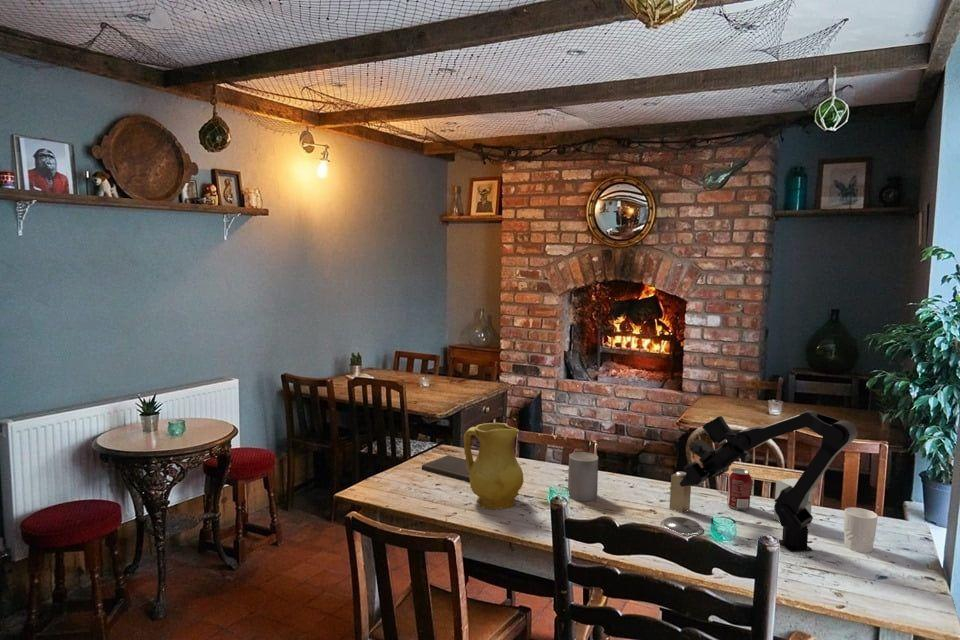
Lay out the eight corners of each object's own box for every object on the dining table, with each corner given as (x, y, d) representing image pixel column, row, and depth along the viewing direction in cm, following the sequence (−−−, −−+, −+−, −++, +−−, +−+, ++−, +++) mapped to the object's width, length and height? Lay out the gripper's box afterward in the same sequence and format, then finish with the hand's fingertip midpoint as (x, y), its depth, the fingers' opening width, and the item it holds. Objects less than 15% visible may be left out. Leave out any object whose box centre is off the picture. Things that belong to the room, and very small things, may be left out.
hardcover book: (448, 460, 248) (448, 455, 247) (497, 473, 234) (497, 467, 234) (421, 470, 235) (421, 464, 234) (471, 484, 221) (471, 478, 221)
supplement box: (790, 528, 189) (793, 487, 188) (772, 518, 196) (775, 478, 195) (810, 526, 191) (813, 485, 190) (792, 516, 198) (795, 477, 197)
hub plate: (710, 535, 182) (710, 531, 182) (671, 536, 181) (671, 532, 181) (691, 518, 194) (691, 515, 194) (653, 520, 193) (654, 516, 192)
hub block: (689, 509, 202) (691, 473, 201) (682, 513, 199) (684, 476, 198) (676, 505, 205) (678, 469, 204) (669, 508, 202) (671, 472, 201)
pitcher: (493, 515, 192) (494, 433, 191) (456, 500, 206) (457, 423, 205) (534, 505, 202) (535, 426, 202) (495, 491, 217) (497, 418, 216)
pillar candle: (574, 489, 218) (575, 446, 216) (601, 494, 213) (602, 451, 211) (562, 498, 209) (564, 453, 208) (590, 504, 204) (592, 458, 203)
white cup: (844, 539, 182) (847, 505, 182) (876, 547, 177) (879, 512, 177) (839, 547, 176) (842, 513, 175) (872, 556, 171) (875, 520, 171)
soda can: (751, 512, 201) (753, 475, 200) (728, 510, 202) (731, 473, 201) (746, 504, 208) (749, 468, 207) (725, 502, 209) (727, 466, 208)
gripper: (722, 428, 200) (687, 454, 209) (692, 438, 188) (657, 465, 197) (744, 459, 195) (708, 484, 204) (715, 471, 183) (678, 497, 192)
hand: (688, 482), depth 199 cm, fingers open, 9 cm apart
